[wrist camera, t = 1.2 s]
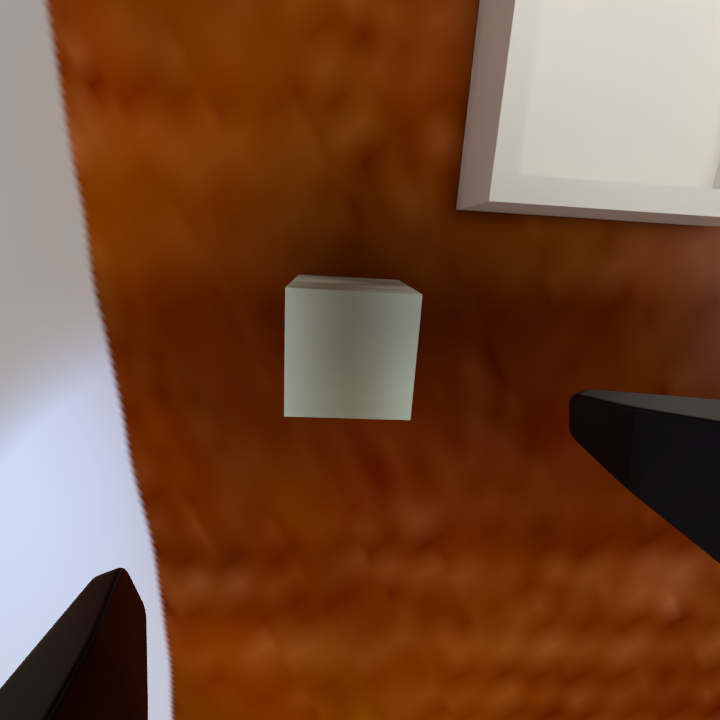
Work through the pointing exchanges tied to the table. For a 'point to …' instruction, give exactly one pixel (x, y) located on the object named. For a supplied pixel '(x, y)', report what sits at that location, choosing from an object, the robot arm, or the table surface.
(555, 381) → the table surface
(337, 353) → the mint block
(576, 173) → the bin
